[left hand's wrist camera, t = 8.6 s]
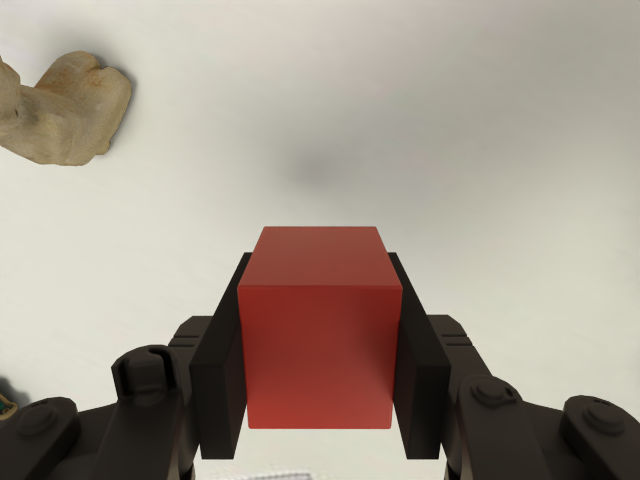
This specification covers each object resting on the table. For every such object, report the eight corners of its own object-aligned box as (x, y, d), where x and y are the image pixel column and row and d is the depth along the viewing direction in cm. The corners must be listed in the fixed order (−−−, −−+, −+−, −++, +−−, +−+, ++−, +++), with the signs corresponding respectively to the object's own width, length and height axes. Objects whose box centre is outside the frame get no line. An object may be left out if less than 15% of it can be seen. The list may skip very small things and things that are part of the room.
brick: (269, 333, 16) (247, 429, 11) (263, 225, 14) (236, 286, 10) (370, 333, 16) (391, 430, 11) (376, 225, 14) (403, 286, 10)
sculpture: (152, 86, 29) (-7, 74, 15) (118, 169, 31) (-51, 229, 17) (76, 41, 28) (-175, -19, 14) (46, 130, 30) (-199, 159, 16)
